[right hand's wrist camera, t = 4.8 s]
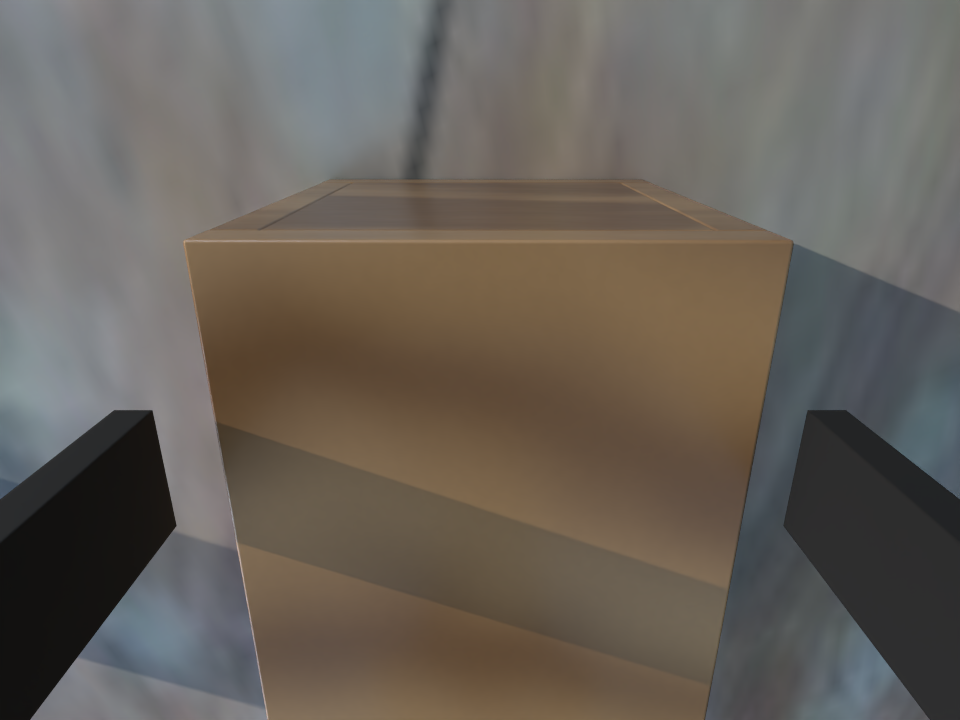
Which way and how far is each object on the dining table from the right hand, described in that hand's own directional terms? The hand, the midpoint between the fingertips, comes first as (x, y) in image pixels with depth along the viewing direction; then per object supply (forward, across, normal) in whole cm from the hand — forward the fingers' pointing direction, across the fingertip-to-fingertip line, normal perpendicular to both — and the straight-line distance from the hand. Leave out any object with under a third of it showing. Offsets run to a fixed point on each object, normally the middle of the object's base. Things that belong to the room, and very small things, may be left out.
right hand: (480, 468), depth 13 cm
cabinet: (+12, 0, -6) cm, 13 cm away
